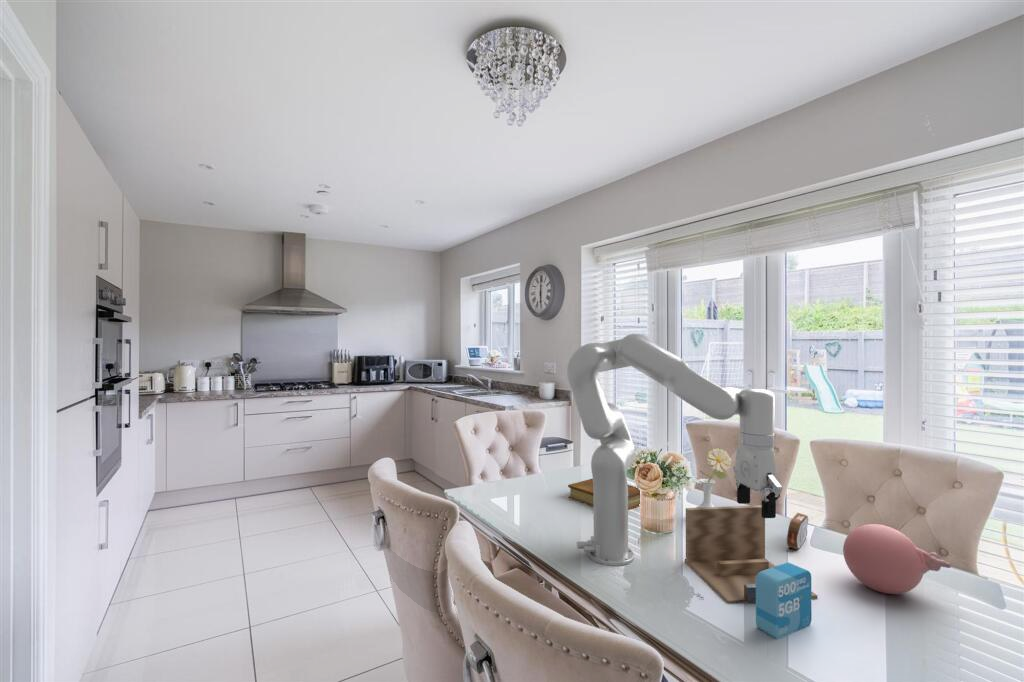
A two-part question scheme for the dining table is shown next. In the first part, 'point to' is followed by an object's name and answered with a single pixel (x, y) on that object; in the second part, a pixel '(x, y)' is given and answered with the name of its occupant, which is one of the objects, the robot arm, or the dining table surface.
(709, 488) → the flower in vase
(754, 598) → the grey rectangular bar
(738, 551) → the shelf
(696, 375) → the robot arm
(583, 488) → the diary
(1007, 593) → the dining table surface
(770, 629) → the data package
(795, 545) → the tin
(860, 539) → the balloon
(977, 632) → the dining table surface
